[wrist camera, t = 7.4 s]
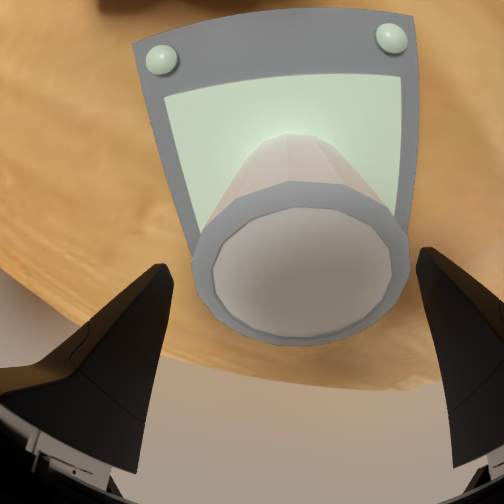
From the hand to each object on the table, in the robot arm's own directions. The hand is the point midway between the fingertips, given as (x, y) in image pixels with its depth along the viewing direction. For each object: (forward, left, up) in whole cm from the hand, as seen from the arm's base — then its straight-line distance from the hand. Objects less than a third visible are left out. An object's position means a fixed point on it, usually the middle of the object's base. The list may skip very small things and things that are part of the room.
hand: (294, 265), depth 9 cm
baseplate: (0, 0, -8) cm, 8 cm away
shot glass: (0, 0, -6) cm, 6 cm away
